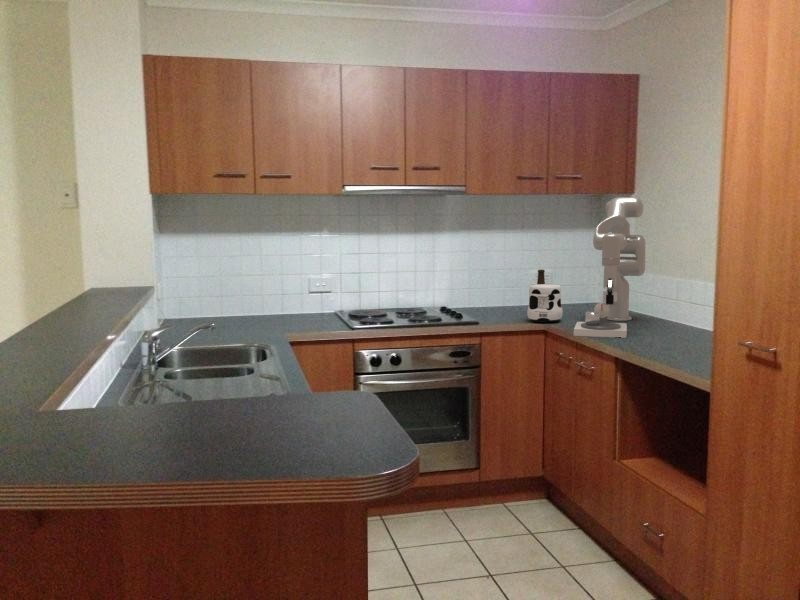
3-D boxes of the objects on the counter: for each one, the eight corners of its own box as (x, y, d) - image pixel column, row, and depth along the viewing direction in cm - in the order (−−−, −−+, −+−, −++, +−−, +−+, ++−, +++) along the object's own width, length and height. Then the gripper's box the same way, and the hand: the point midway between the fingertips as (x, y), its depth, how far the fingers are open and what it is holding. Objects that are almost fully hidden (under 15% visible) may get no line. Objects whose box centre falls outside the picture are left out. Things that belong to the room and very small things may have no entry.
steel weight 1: (585, 323, 308) (585, 311, 307) (599, 323, 306) (599, 311, 305) (585, 325, 302) (585, 313, 302) (599, 325, 300) (599, 313, 300)
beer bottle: (548, 315, 361) (548, 270, 358) (533, 315, 363) (533, 270, 360) (548, 313, 369) (548, 269, 366) (533, 313, 370) (533, 269, 367)
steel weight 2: (603, 303, 304) (603, 291, 304) (617, 303, 302) (617, 291, 302) (602, 304, 299) (602, 292, 298) (616, 305, 297) (617, 292, 296)
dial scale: (577, 327, 319) (577, 301, 318) (626, 329, 312) (627, 302, 311) (573, 335, 298) (574, 307, 297) (626, 337, 291) (627, 309, 290)
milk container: (549, 318, 352) (550, 283, 349) (569, 322, 335) (570, 286, 333) (520, 320, 345) (520, 285, 343) (539, 325, 329) (539, 288, 327)
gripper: (602, 261, 308) (601, 300, 310) (601, 263, 291) (600, 305, 293) (620, 261, 305) (619, 301, 307) (619, 263, 289) (618, 305, 291)
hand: (609, 302), depth 300 cm, fingers closed on steel weight 2, 6 cm apart
